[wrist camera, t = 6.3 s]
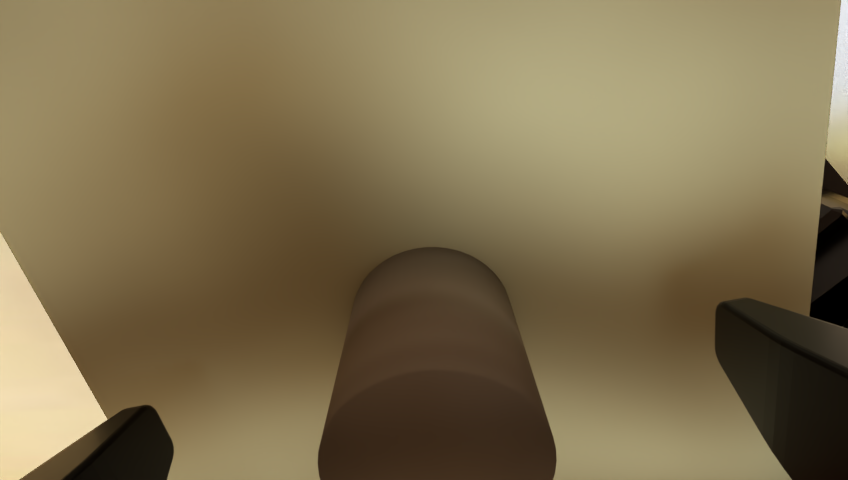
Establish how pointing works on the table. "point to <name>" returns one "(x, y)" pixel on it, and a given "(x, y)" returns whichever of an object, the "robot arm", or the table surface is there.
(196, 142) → the lid
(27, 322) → the table surface
